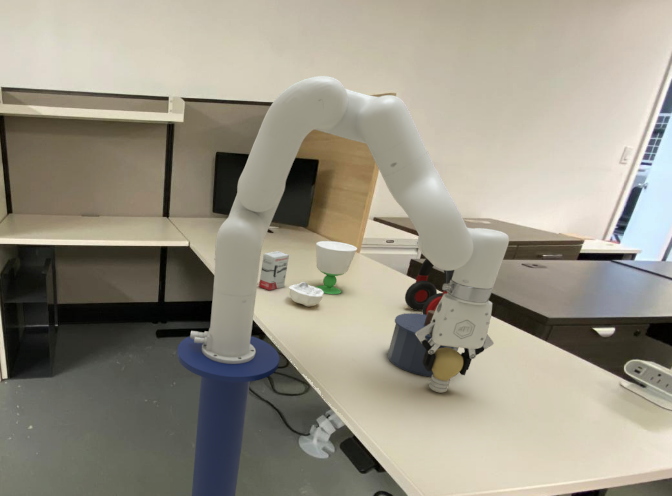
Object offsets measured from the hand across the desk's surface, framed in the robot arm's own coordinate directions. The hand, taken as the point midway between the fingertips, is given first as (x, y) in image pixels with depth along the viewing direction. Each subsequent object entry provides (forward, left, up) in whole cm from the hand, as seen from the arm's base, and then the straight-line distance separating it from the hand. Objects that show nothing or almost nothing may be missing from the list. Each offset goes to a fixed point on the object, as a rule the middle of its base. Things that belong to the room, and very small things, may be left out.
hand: (443, 369), depth 101 cm
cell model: (-25, +48, -5) cm, 55 cm away
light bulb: (0, 0, -5) cm, 5 cm away
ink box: (-35, +63, -5) cm, 73 cm away
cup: (-15, +66, -5) cm, 68 cm away
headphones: (+13, +48, -5) cm, 51 cm away
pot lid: (0, +13, +4) cm, 14 cm away
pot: (0, +13, -5) cm, 14 cm away
